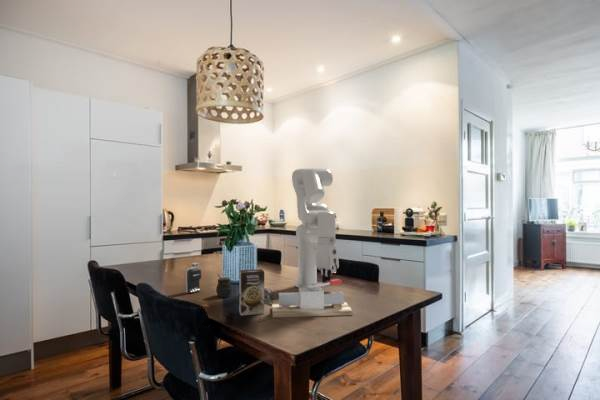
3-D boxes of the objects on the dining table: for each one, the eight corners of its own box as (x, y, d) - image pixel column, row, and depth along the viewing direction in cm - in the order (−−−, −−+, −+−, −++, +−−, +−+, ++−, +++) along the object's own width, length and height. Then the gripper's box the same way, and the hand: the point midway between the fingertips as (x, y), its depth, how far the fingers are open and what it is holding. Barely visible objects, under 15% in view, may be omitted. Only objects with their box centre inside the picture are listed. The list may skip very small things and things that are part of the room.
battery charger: (190, 294, 162) (190, 269, 163) (185, 293, 165) (185, 269, 165) (202, 291, 168) (202, 267, 168) (197, 290, 170) (197, 266, 170)
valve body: (278, 305, 138) (278, 288, 138) (341, 304, 140) (341, 286, 141) (279, 311, 131) (279, 292, 131) (344, 309, 134) (344, 290, 134)
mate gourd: (227, 298, 155) (226, 276, 155) (212, 297, 157) (212, 275, 158) (235, 294, 162) (234, 272, 162) (220, 293, 164) (220, 272, 164)
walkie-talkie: (245, 297, 159) (271, 306, 144) (244, 287, 159) (271, 295, 144) (260, 293, 165) (288, 302, 150) (260, 284, 165) (287, 292, 150)
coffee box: (240, 316, 131) (240, 272, 131) (238, 311, 137) (238, 269, 137) (264, 313, 133) (264, 271, 133) (261, 309, 139) (261, 268, 140)
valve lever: (336, 282, 146) (336, 278, 146) (341, 284, 143) (341, 279, 143) (306, 288, 136) (306, 283, 137) (310, 289, 134) (310, 285, 134)
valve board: (272, 307, 141) (272, 300, 141) (345, 305, 143) (345, 298, 143) (272, 317, 129) (272, 309, 129) (352, 315, 131) (352, 306, 131)
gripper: (345, 242, 142) (345, 287, 142) (321, 239, 153) (321, 280, 153) (331, 243, 137) (332, 290, 137) (308, 240, 149) (308, 283, 149)
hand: (326, 285), depth 145 cm, fingers closed
